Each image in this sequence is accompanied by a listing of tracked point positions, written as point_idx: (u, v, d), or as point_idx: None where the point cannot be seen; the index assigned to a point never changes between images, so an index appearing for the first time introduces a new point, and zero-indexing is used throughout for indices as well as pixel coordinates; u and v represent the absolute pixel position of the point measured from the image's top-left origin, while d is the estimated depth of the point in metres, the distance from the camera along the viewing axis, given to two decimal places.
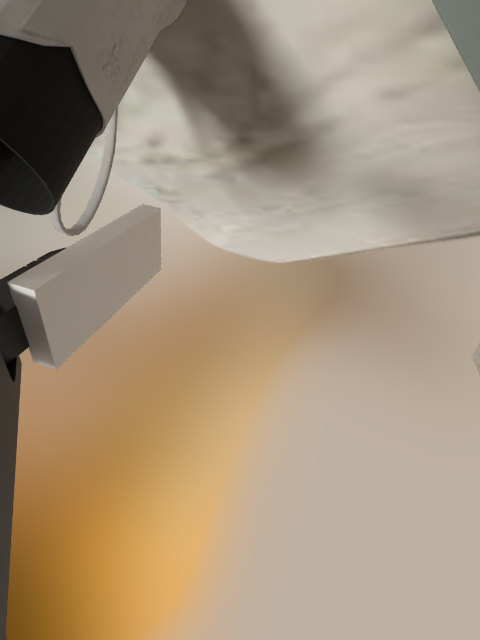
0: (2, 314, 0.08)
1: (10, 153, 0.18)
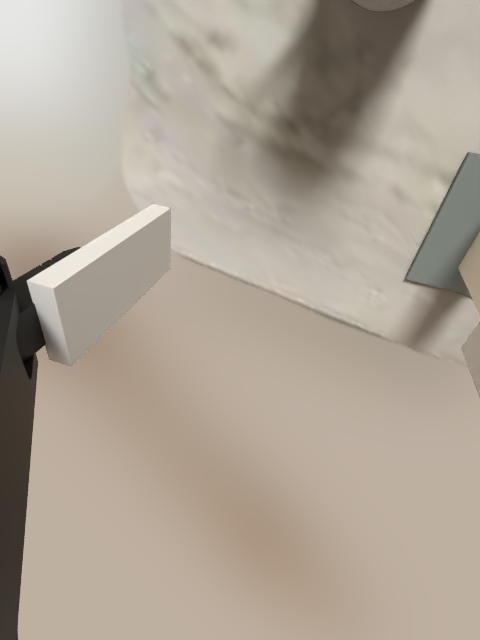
0: (21, 313, 0.08)
1: None
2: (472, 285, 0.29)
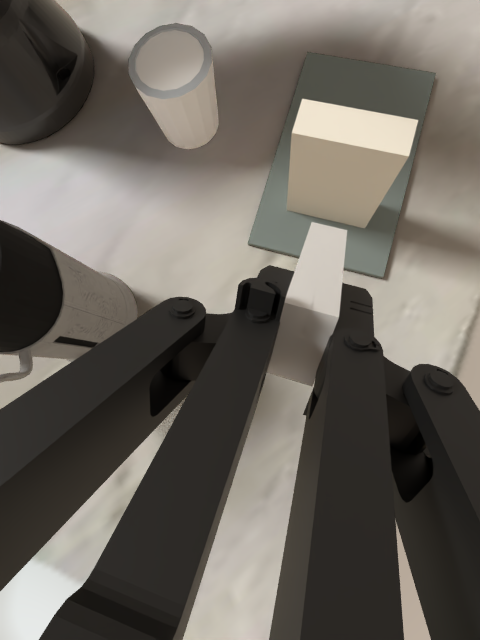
0: (274, 341, 0.09)
1: None
2: (372, 200, 0.25)
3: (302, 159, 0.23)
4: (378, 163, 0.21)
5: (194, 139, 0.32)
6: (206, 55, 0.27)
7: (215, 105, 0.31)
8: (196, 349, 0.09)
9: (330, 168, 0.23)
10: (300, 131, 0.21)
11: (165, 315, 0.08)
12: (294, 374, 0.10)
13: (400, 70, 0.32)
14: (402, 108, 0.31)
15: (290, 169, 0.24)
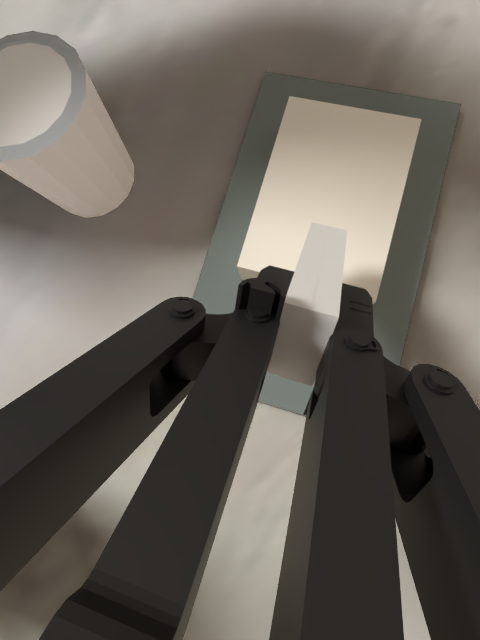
0: (275, 341, 0.09)
1: None
2: (385, 211, 0.17)
3: (293, 137, 0.18)
4: (389, 134, 0.18)
5: (91, 207, 0.21)
6: (76, 85, 0.16)
7: (117, 158, 0.20)
8: (196, 349, 0.09)
9: (328, 149, 0.18)
10: (298, 100, 0.19)
11: (165, 315, 0.08)
12: (294, 374, 0.10)
13: (405, 100, 0.21)
14: None
15: (272, 157, 0.18)
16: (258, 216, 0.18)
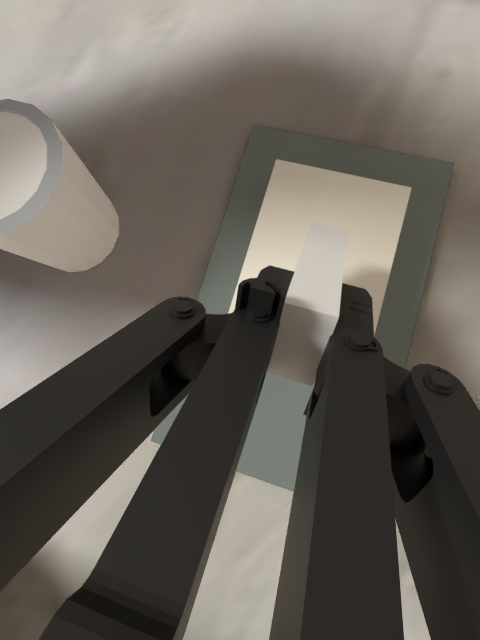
0: (274, 341, 0.09)
1: None
2: (373, 285, 0.16)
3: (280, 203, 0.18)
4: (378, 203, 0.17)
5: (73, 265, 0.20)
6: (52, 160, 0.15)
7: (99, 218, 0.19)
8: (196, 349, 0.09)
9: (315, 217, 0.17)
10: (286, 163, 0.18)
11: (165, 315, 0.08)
12: (294, 374, 0.10)
13: (396, 157, 0.20)
14: None
15: (257, 224, 0.18)
16: None
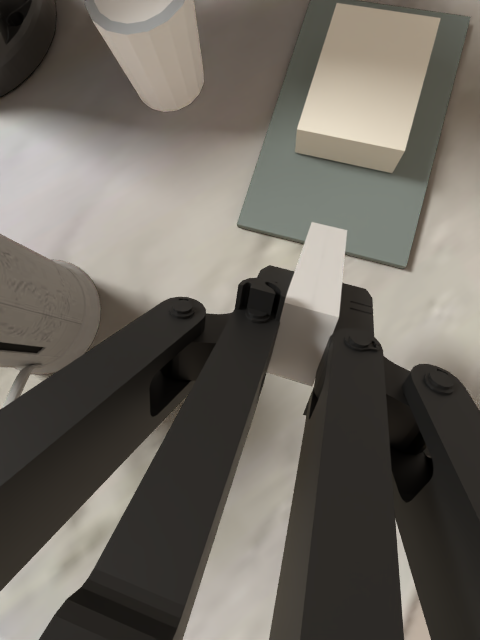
0: (274, 341, 0.09)
1: None
2: (412, 86, 0.22)
3: (340, 33, 0.23)
4: (415, 30, 0.23)
5: (173, 97, 0.26)
6: None
7: (198, 53, 0.25)
8: (196, 349, 0.09)
9: (367, 42, 0.23)
10: (343, 6, 0.24)
11: (165, 315, 0.08)
12: (294, 374, 0.10)
13: (426, 14, 0.26)
14: None
15: (323, 49, 0.23)
16: (313, 92, 0.23)
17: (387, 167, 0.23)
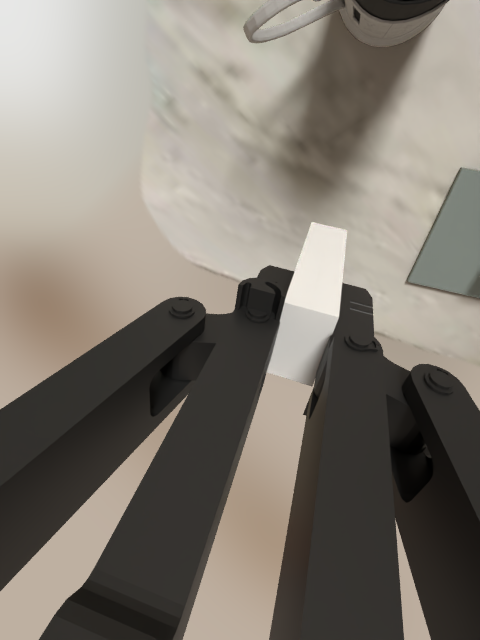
0: (274, 341, 0.09)
1: None
2: None
3: None
4: None
5: None
6: None
7: None
8: (196, 349, 0.09)
9: None
10: None
11: (165, 314, 0.08)
12: (294, 374, 0.10)
13: None
14: None
15: None
16: None
17: None
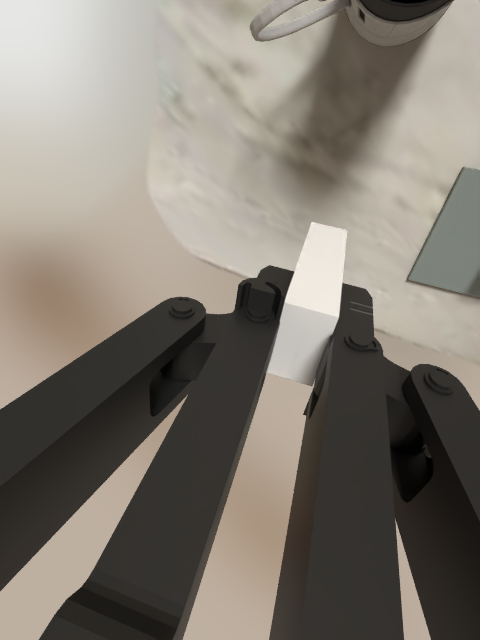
0: (274, 341, 0.09)
1: None
2: None
3: None
4: None
5: None
6: None
7: None
8: (196, 349, 0.09)
9: None
10: None
11: (165, 314, 0.08)
12: (294, 374, 0.10)
13: None
14: None
15: None
16: None
17: None
